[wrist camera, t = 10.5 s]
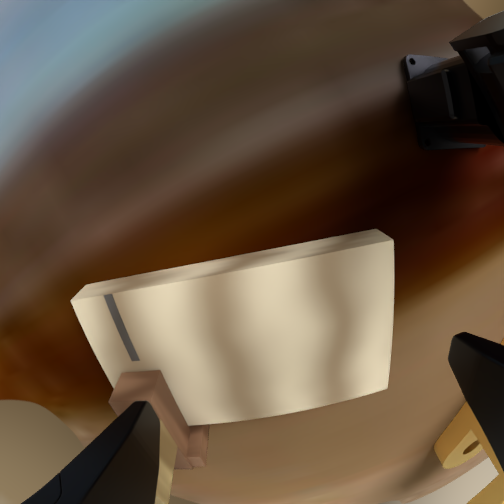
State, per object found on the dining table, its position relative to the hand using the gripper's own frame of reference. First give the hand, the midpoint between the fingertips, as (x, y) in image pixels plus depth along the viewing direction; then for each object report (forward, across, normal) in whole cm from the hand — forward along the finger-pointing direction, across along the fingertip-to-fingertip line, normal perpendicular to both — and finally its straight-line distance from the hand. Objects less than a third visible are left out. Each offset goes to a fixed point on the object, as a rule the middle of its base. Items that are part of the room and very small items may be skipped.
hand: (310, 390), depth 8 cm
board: (+12, +3, +6) cm, 14 cm away
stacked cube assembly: (+11, +10, +10) cm, 18 cm away
